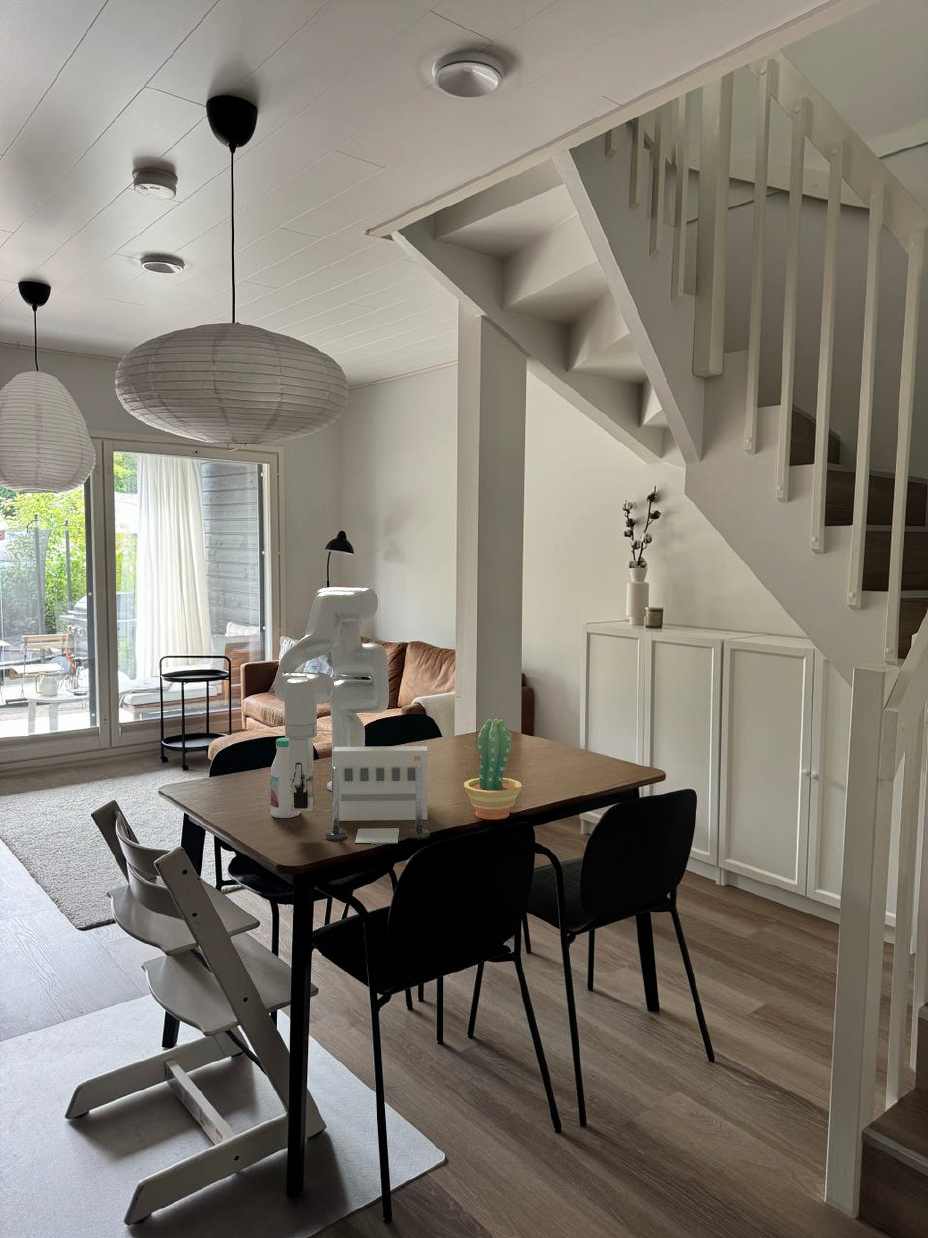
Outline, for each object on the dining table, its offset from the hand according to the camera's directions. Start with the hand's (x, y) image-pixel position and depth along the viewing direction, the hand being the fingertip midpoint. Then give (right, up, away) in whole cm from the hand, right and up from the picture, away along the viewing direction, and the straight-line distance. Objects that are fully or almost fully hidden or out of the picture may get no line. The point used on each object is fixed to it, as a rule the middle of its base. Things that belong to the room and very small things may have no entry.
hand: (302, 803), depth 206 cm
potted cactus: (+46, -7, +19) cm, 50 cm away
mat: (+18, -8, +1) cm, 20 cm away
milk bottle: (-8, -7, +19) cm, 21 cm away
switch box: (+17, -7, +16) cm, 25 cm away
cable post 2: (+28, -8, +1) cm, 29 cm away
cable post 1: (+8, -8, 0) cm, 11 cm away
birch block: (0, -1, 0) cm, 1 cm away
